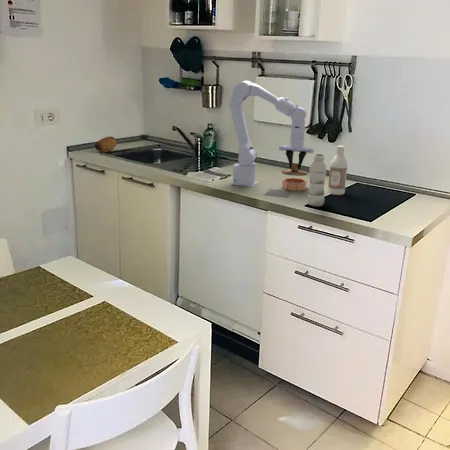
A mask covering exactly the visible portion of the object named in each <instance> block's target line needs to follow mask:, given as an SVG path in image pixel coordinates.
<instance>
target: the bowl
mask: <svg viewBox="0 0 450 450" xmlns="http://www.w3.org/2000/svg"><path fill="white" fill-rule="evenodd" d="M307 186H308V180H306V179H304V178H302V177H301V178H300V177H285V178H283V179H282V182H281V187H282V188H283V189H285V190H286V191H293V192H294V191H296V192H297V191H304V190H306V189H307Z"/></svg>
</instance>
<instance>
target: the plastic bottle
mask: <svg viewBox="0 0 450 450" xmlns="http://www.w3.org/2000/svg"><path fill="white" fill-rule="evenodd" d="M324 161H325V154H322V153H321V154H320V153H318V154H317V153H316V154H315V153H314V155H313V162H312V163H311V164H310V166H309V170H308V171H309V186H308V187H309V189H308V194H307V198H306V201H307V204H308V205H309V206H312V207H322V206H323V205H324V204H325V200H326V199H325V182H326V181H325V180H326V176H327V171H328V169H327V164H325V162H324Z"/></svg>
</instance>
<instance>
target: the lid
mask: <svg viewBox="0 0 450 450" xmlns="http://www.w3.org/2000/svg"><path fill="white" fill-rule="evenodd" d="M298 164H299V162H293V163H292V167H291V168H290V169H282V170H281V174H283V175H287V176H296V177H298V176H299V177H304V176H308V171H306V170H301V169H298Z"/></svg>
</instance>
